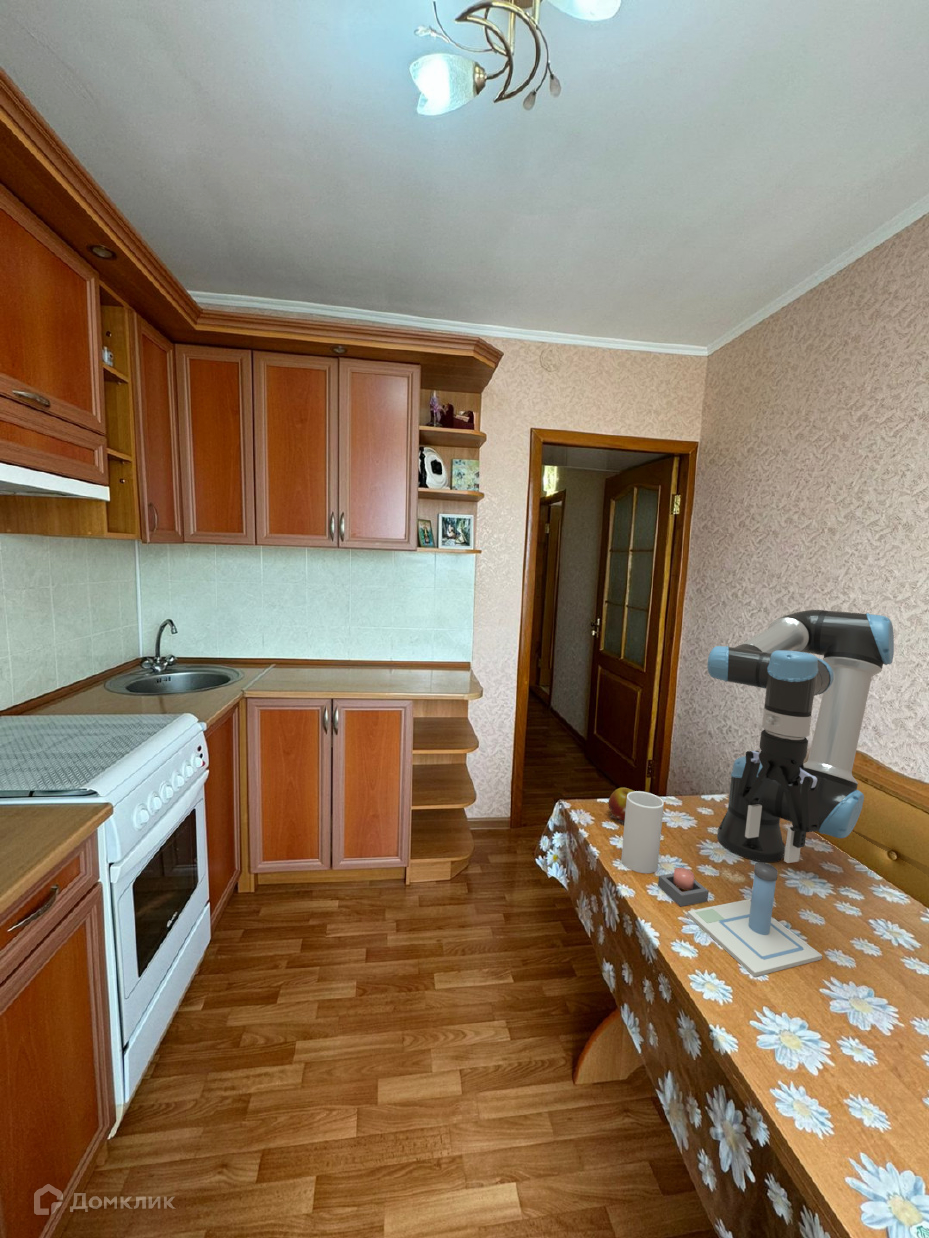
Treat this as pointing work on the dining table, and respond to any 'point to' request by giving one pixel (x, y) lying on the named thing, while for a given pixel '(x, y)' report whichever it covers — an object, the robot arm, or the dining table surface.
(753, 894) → the marker
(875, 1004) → the dining table surface
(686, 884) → the button
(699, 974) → the dining table surface
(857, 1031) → the dining table surface
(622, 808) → the fruit
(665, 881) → the button housing
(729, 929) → the board
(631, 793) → the cup
